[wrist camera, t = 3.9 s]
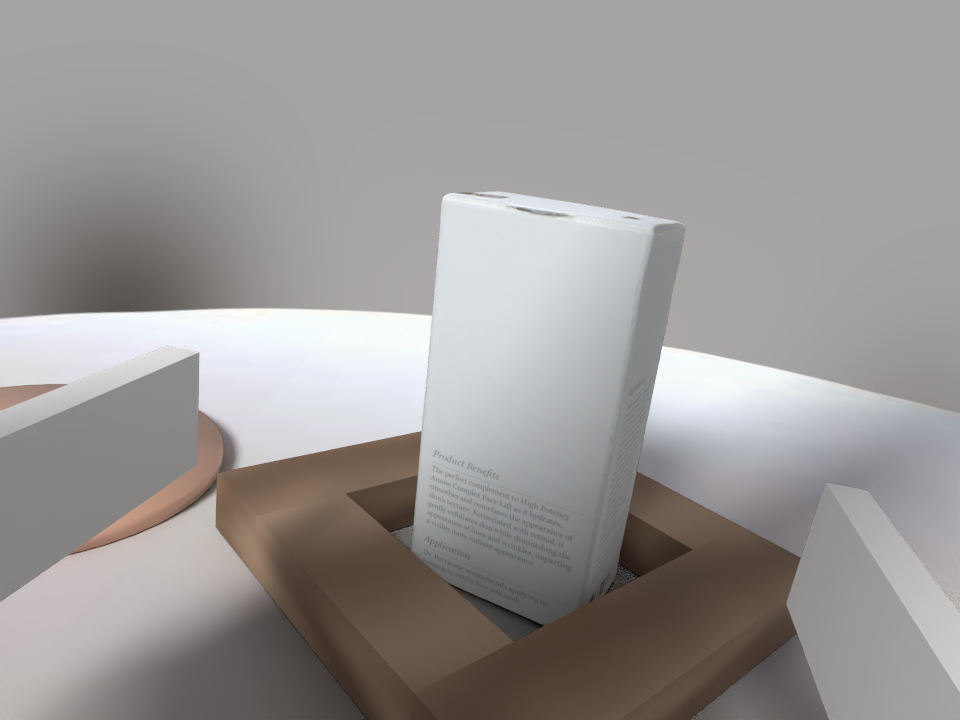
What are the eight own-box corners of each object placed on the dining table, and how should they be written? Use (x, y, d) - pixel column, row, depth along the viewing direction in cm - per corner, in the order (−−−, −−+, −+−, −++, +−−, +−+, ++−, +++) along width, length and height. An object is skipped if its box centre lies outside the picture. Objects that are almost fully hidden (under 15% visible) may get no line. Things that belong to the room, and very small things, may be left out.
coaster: (279, 502, 25) (280, 487, 25) (-235, 629, 16) (-239, 607, 16) (162, 382, 34) (162, 371, 34) (-208, 423, 25) (-210, 408, 25)
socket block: (808, 623, 22) (826, 571, 22) (493, 878, 13) (508, 799, 13) (514, 450, 32) (521, 411, 31) (215, 526, 23) (217, 473, 22)
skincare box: (618, 578, 23) (700, 220, 20) (573, 653, 19) (667, 226, 16) (460, 515, 26) (509, 188, 22) (393, 571, 22) (439, 185, 18)
